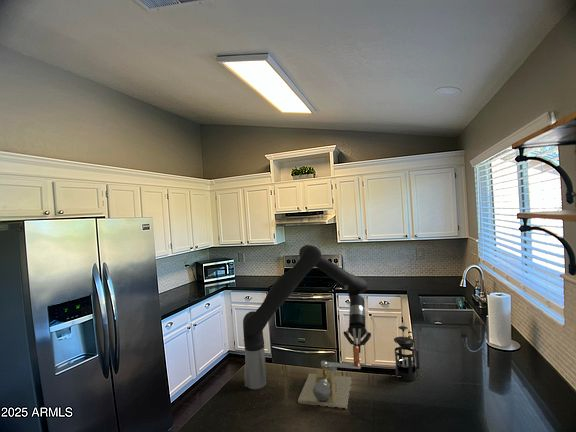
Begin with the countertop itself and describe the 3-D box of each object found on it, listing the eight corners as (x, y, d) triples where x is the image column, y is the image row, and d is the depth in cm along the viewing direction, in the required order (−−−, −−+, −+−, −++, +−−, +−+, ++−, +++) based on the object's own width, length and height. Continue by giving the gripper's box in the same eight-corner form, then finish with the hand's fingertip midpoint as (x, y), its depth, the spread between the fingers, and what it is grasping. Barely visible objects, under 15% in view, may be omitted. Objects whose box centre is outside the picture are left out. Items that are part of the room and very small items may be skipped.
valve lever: (320, 367, 131) (319, 345, 132) (321, 364, 134) (320, 342, 134) (360, 370, 127) (359, 347, 127) (360, 367, 129) (359, 345, 129)
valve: (298, 403, 126) (296, 375, 126) (309, 376, 147) (308, 352, 147) (346, 409, 120) (345, 379, 120) (351, 380, 141) (350, 355, 142)
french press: (400, 382, 137) (397, 331, 137) (390, 372, 146) (387, 324, 147) (424, 379, 139) (421, 329, 139) (413, 369, 148) (410, 322, 148)
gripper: (342, 312, 145) (340, 349, 133) (371, 313, 141) (372, 351, 129) (344, 320, 150) (342, 356, 138) (371, 321, 146) (373, 358, 134)
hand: (357, 353), depth 133 cm, fingers closed
